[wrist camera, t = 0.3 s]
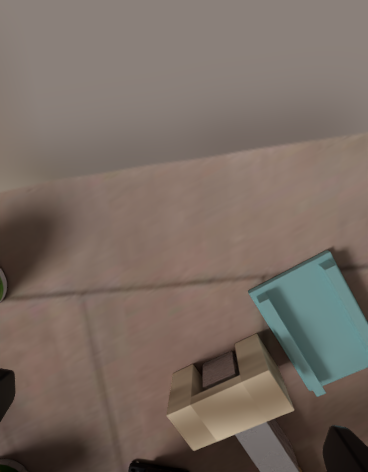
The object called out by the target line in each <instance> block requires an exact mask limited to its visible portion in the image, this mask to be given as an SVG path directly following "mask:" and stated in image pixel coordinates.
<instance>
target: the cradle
mask: <svg viewBox="0 0 368 472" xmlns="http://www.w3.org/2000/svg"><path fill="white" fill-rule="evenodd" d="M248 293H249V295H250V296H251V298H252V299H253V301H254V303H255V304H256V306H257V307H258V309H259V311H260V312H261V314H262V316H263V317H264V319H265V320H266V322H267V324H268V325H269V327H270V328H271V330H272V332H273V333H274V335H275V336H276V338H277V340H278V341H279V343H280V345H281V346H282V348H283V349H284V351H285V353H286V354H287V356H288V357H289V359H290V361H291V362H292V364H293V365H294V367H295V369H296V370H297V372H298V374H299V375H300V377H301V378H302V380H303V382H304V383H305V385H306V386H307V388H308V390H309V391H311V390H313V391H314V393H315V395H316V396H317V397H318V396H321V395H323V394H325V393H326V392H325V391H324V389H323V387H322V386H323V385H326V384H328V383H331V382H333V381H336V380H338V379H340V378H343V377H345V376H348V375H350V374H353V373H355V372H357V371H360V370H362V369H365V368H367V367H368V322H367V320H366V318H365V316H364V314H363V312H362V311H361V309H360V307H359V305H358V303H357V301H356V299H355V298H354V296H353V294H352V292H351V290H350V288H349V286H348V285H347V283H346V281H345V279H344V277H343V275H342V273H341V271H340V270H339V268H338V266H337V264H336V262H335V260H334V258H333V257H332V255H331V253H330V252H329V251H328V250H326V251H324V252H322V253H320V254H318V255H316V256H314V257H312V258H310V259H308V260H307V261H305V262H303V263H301V264H299V265H297V266H295V267H293V268H291V269H289V270H287V271H285V272H283V273H282V274H280V275H278V276H276V277H274V278H272V279H270V280H268V281H266V282H264V283H262V284H260V285H258V286H257V287H255V288H253V289H251V290H249V291H248Z"/></svg>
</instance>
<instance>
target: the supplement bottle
mask: <svg viewBox="0 0 368 472" xmlns="http://www.w3.org/2000/svg"><path fill="white" fill-rule="evenodd" d="M6 291H7V281H6V278H5V275H4V273H3V271H2V270H1V268H0V302H1V301H2V300H3V298H4V297H5V294H6Z"/></svg>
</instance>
